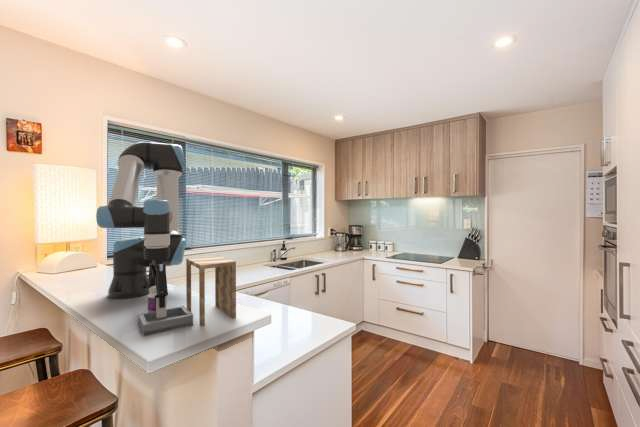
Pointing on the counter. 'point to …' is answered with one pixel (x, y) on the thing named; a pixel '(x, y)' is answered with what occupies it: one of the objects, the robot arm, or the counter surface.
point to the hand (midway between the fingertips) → (157, 311)
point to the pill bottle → (152, 299)
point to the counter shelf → (223, 284)
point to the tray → (165, 320)
